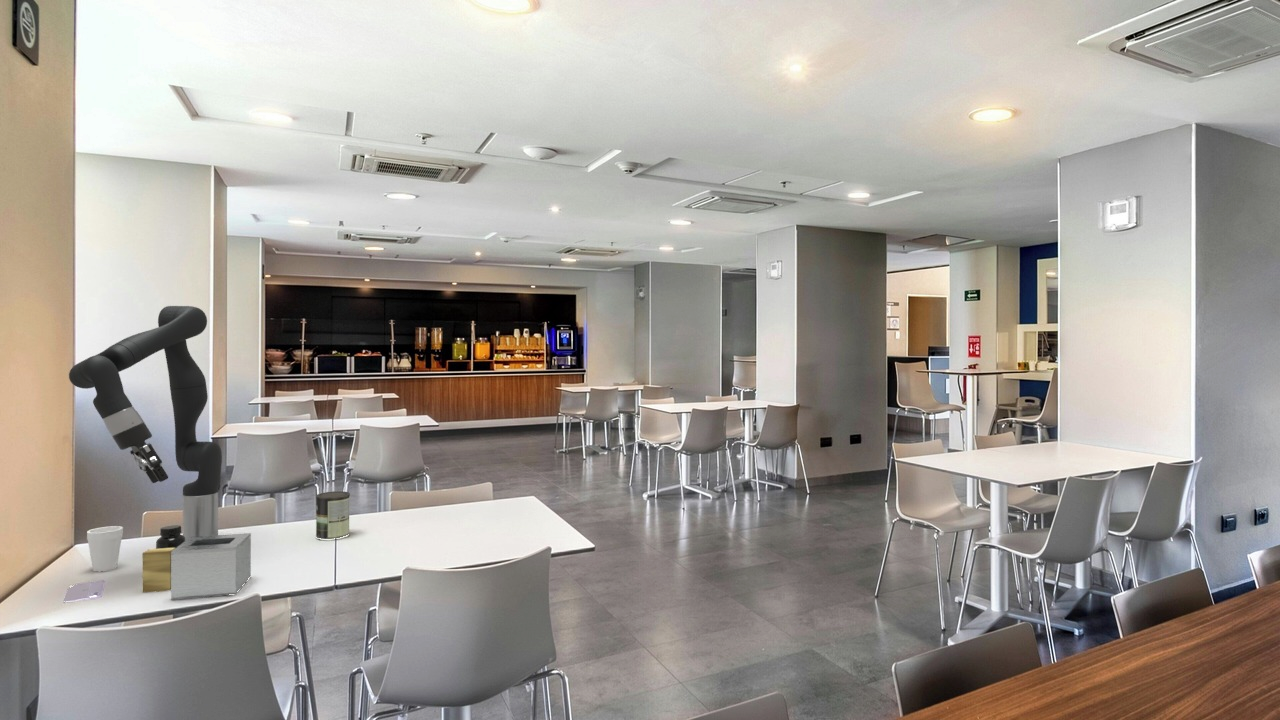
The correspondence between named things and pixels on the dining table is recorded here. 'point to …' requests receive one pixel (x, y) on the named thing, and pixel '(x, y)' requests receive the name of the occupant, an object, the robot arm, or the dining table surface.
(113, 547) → the foam cup
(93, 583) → the mobile phone
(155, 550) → the plaque
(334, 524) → the coffee can
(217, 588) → the coin box
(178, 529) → the supplement bottle
